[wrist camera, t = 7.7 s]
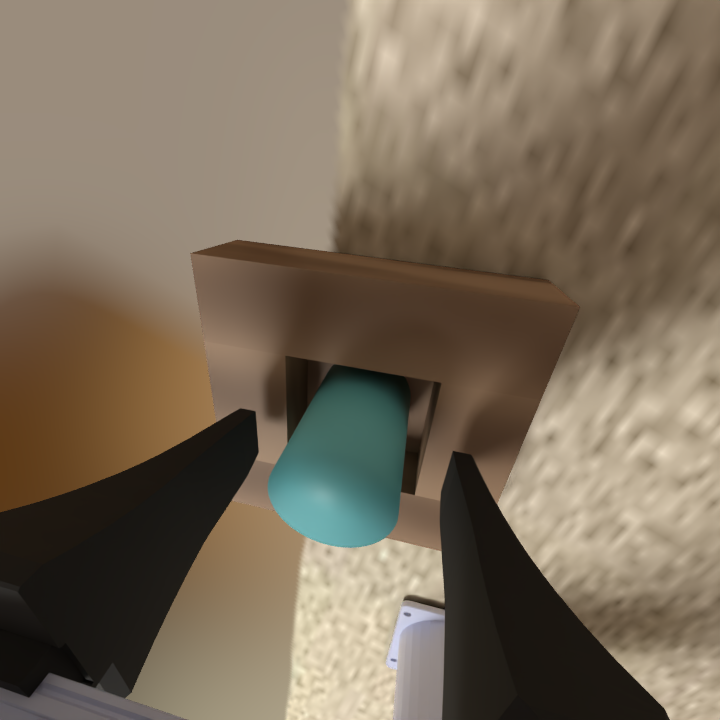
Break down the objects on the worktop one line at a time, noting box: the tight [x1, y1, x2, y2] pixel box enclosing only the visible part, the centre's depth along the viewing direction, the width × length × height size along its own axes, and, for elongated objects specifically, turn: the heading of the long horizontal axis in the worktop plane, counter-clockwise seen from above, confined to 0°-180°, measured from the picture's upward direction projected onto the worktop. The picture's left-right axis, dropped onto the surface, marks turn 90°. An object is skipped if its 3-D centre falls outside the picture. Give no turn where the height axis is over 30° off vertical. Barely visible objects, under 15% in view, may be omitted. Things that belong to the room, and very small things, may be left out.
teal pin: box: [268, 364, 411, 548], centre depth 13 cm, size 4×4×6 cm
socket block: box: [191, 240, 580, 551], centre depth 14 cm, size 12×12×3 cm
